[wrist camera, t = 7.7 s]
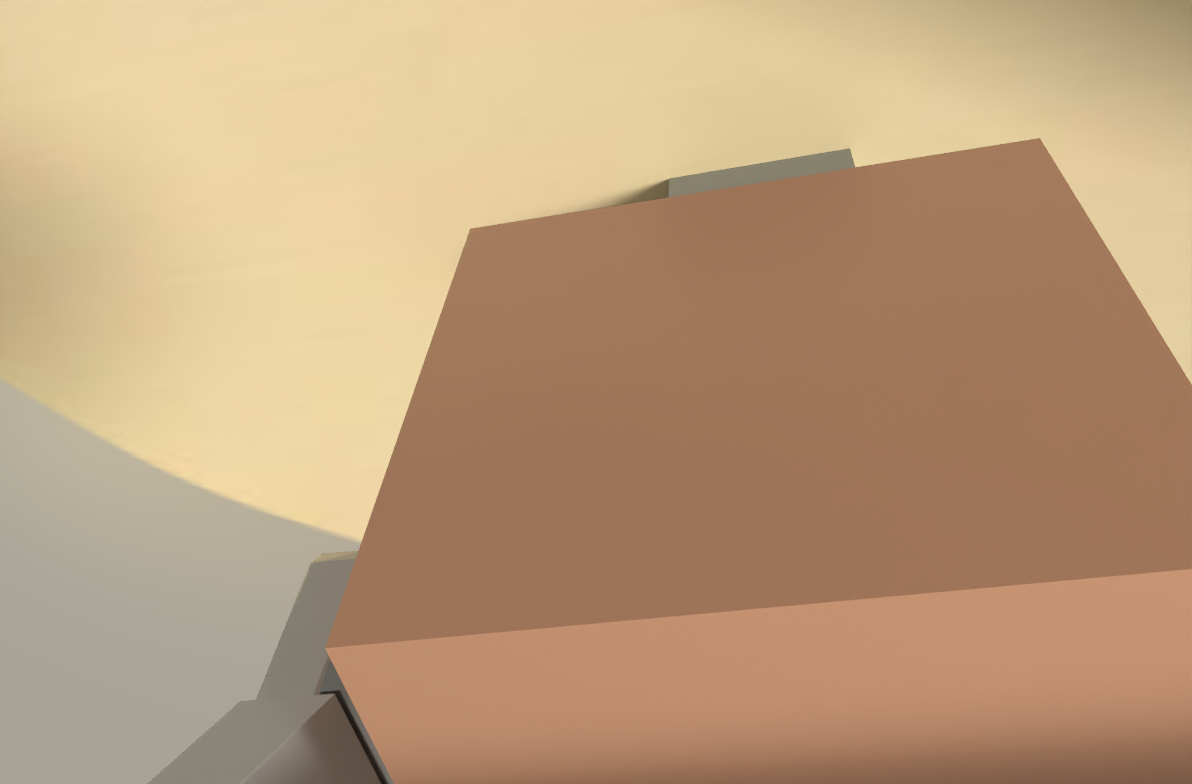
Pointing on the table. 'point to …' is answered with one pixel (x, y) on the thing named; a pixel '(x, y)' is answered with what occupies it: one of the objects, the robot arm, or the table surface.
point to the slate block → (761, 172)
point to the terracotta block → (787, 498)
